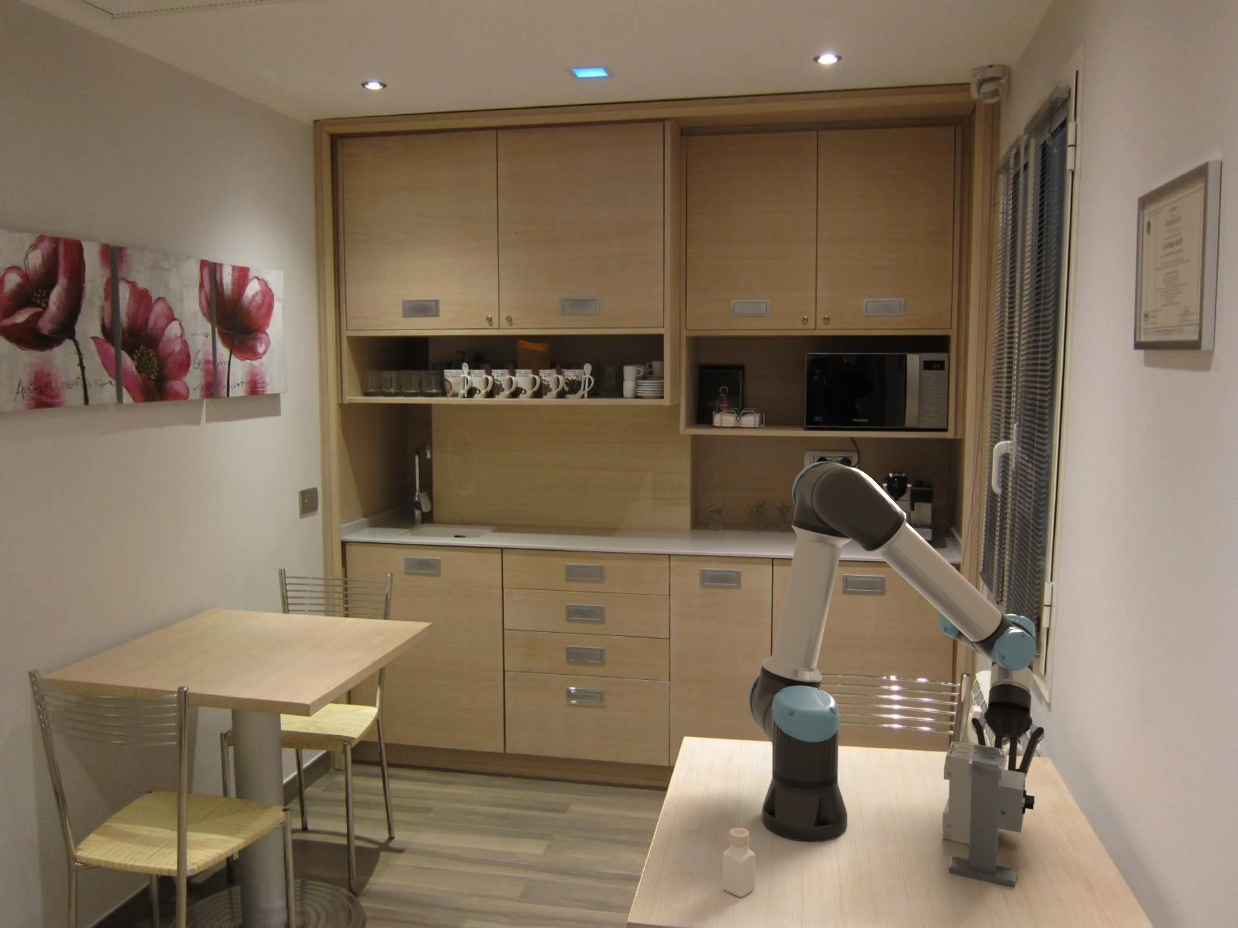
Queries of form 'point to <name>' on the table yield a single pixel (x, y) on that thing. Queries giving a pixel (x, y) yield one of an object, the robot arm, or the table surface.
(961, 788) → the circuit breaker
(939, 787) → the table surface
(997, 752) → the bracket
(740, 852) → the pepper shaker
